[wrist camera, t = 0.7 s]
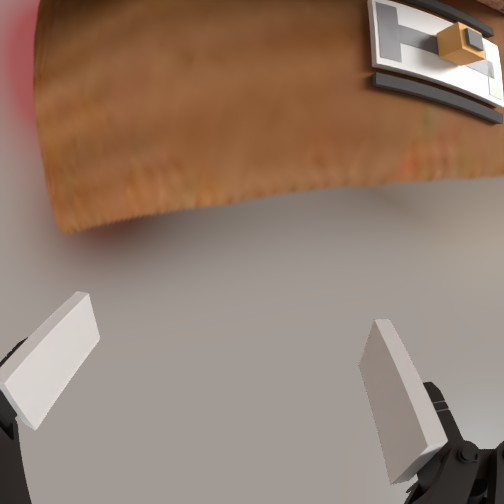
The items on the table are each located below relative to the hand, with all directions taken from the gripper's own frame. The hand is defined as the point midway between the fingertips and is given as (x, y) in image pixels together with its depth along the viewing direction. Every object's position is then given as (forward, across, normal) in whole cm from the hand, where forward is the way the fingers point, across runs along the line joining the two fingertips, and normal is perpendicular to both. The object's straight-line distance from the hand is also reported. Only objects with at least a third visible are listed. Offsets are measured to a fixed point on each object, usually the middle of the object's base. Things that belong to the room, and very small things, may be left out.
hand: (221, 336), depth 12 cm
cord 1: (+27, +25, +34) cm, 50 cm away
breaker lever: (+24, +25, +26) cm, 44 cm away
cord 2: (+27, +25, +18) cm, 41 cm away
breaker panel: (+27, +25, +26) cm, 45 cm away
